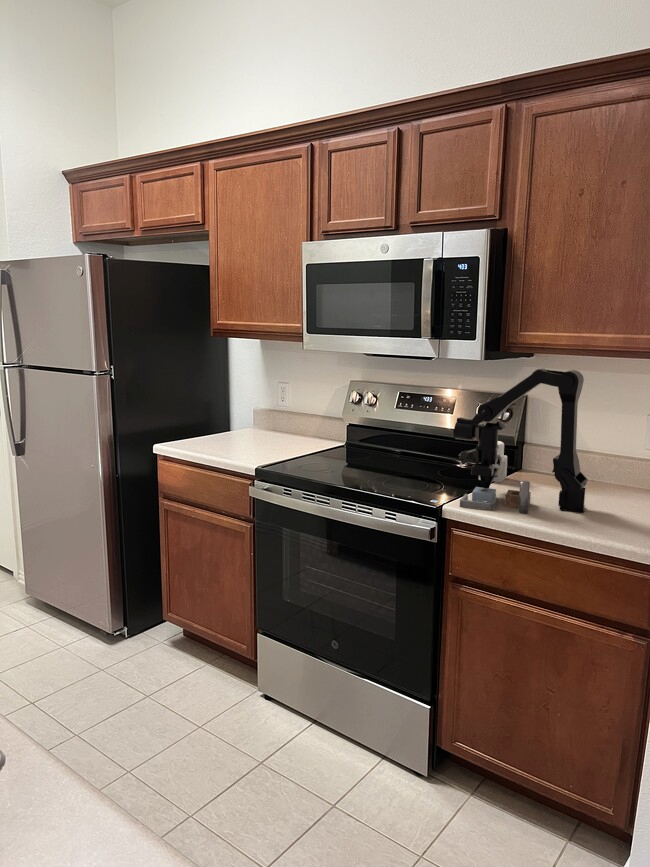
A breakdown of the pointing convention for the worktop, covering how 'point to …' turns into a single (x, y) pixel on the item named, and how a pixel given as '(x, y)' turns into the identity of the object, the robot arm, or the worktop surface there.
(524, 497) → the cylinder
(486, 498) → the block
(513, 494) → the go block
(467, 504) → the tray
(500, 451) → the container
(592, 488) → the worktop surface
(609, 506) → the worktop surface
